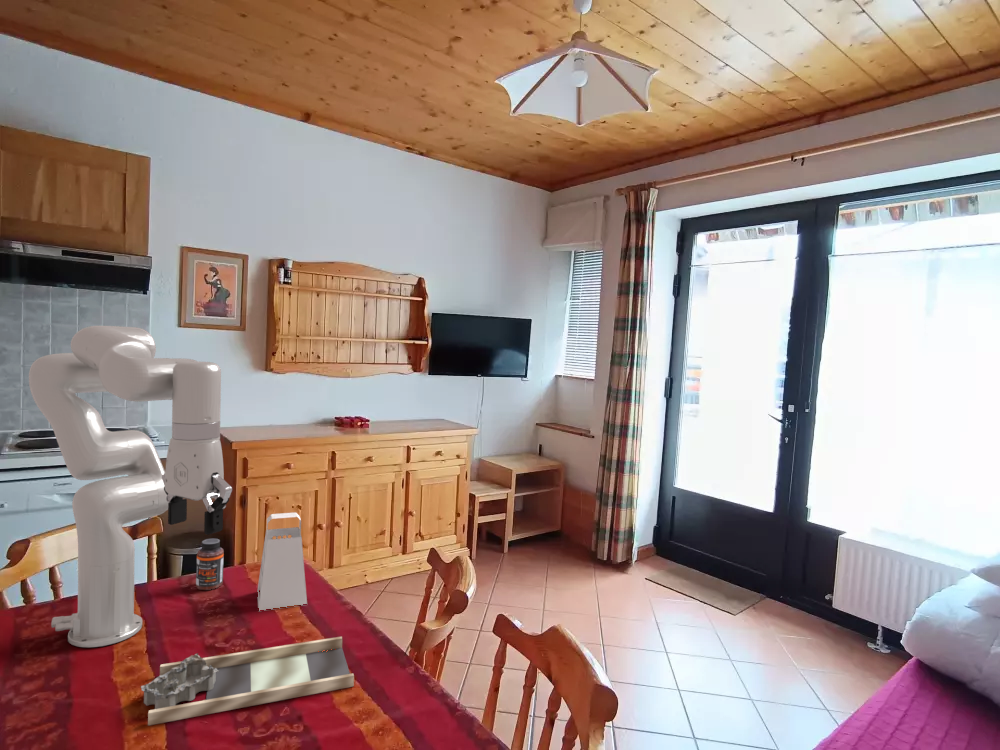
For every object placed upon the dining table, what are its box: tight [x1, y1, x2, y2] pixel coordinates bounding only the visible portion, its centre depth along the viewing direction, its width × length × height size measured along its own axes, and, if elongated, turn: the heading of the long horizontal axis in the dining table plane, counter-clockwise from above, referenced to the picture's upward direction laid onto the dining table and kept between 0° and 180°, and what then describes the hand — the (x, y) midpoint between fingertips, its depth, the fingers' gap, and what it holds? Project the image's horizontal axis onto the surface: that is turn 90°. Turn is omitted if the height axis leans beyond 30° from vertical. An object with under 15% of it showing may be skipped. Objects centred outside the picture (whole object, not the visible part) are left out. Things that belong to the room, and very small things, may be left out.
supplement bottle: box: [195, 538, 225, 591], centre depth 142 cm, size 6×6×11 cm
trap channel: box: [147, 636, 355, 726], centre depth 105 cm, size 32×15×2 cm, turn 114°
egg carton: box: [140, 652, 219, 709], centre depth 100 cm, size 11×8×4 cm
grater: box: [256, 512, 308, 612], centre depth 137 cm, size 10×10×20 cm
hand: (195, 527), depth 103 cm, fingers open, 9 cm apart
